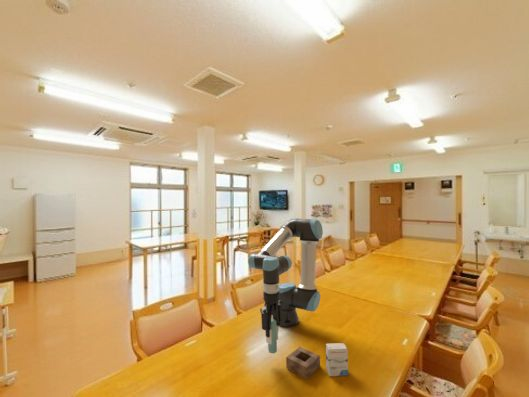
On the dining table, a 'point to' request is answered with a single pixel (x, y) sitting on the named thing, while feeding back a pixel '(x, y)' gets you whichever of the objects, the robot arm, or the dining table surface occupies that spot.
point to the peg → (273, 338)
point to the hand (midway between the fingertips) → (272, 340)
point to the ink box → (337, 359)
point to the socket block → (303, 362)
